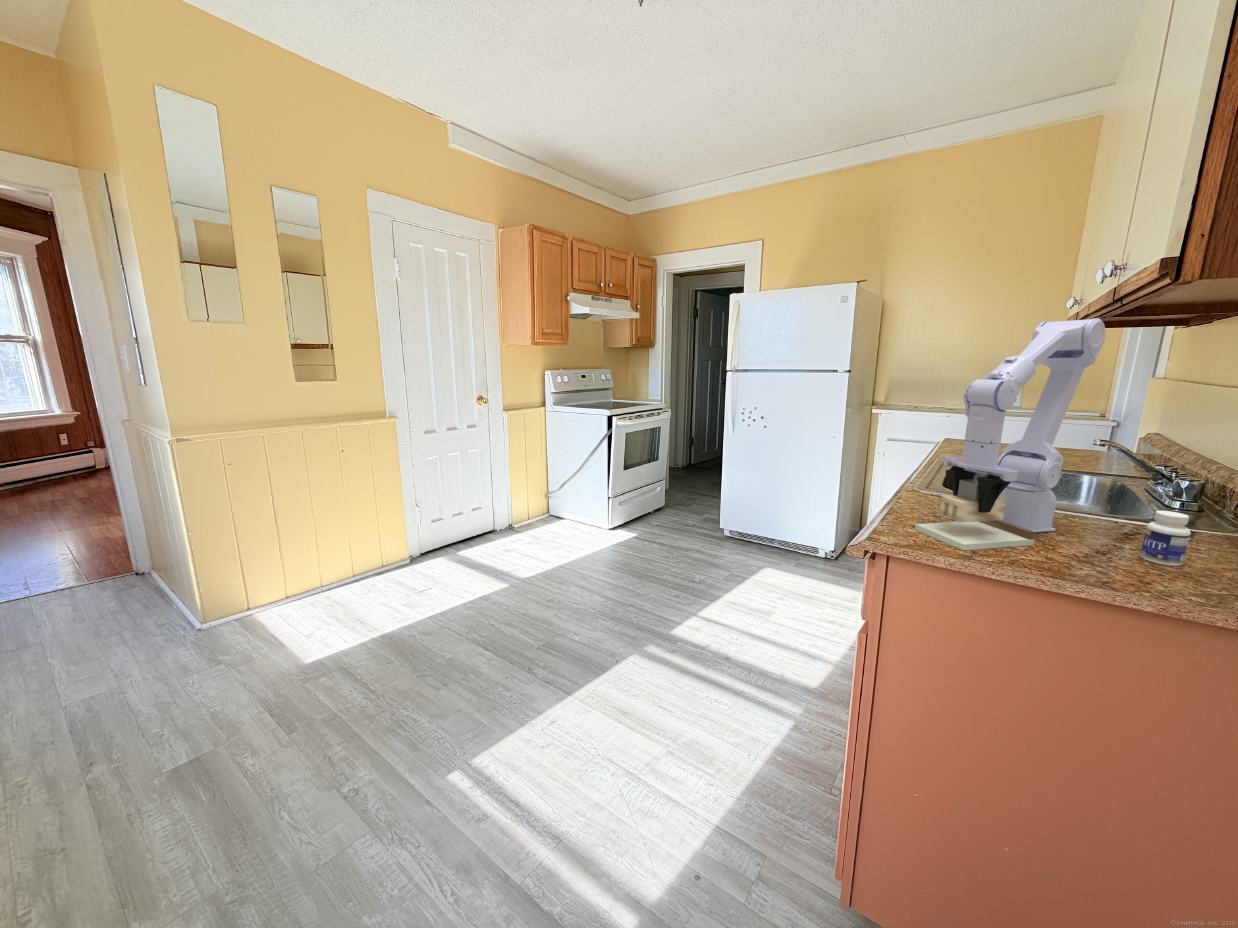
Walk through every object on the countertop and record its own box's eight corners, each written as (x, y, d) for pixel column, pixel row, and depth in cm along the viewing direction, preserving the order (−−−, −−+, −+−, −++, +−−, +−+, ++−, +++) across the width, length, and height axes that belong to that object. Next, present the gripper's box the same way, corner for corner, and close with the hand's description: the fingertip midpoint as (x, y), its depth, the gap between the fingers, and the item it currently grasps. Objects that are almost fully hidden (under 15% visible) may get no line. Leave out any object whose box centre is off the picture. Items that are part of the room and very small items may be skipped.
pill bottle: (1130, 554, 91) (1141, 509, 89) (1160, 555, 90) (1171, 509, 89) (1161, 566, 85) (1172, 518, 84) (1192, 566, 85) (1204, 518, 83)
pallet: (980, 512, 102) (983, 494, 101) (1002, 519, 97) (1005, 500, 96) (938, 515, 100) (941, 496, 99) (959, 522, 95) (962, 502, 95)
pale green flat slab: (978, 525, 107) (980, 513, 106) (1033, 545, 95) (1035, 531, 95) (914, 529, 104) (916, 517, 104) (963, 550, 93) (965, 536, 92)
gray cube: (974, 495, 100) (976, 479, 99) (992, 500, 96) (994, 483, 95) (957, 496, 99) (959, 479, 99) (974, 501, 95) (977, 484, 95)
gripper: (934, 436, 102) (926, 499, 105) (999, 448, 88) (987, 520, 91) (963, 435, 103) (954, 497, 106) (1032, 447, 89) (1019, 518, 92)
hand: (971, 508), depth 98 cm, fingers closed on pallet, 5 cm apart
